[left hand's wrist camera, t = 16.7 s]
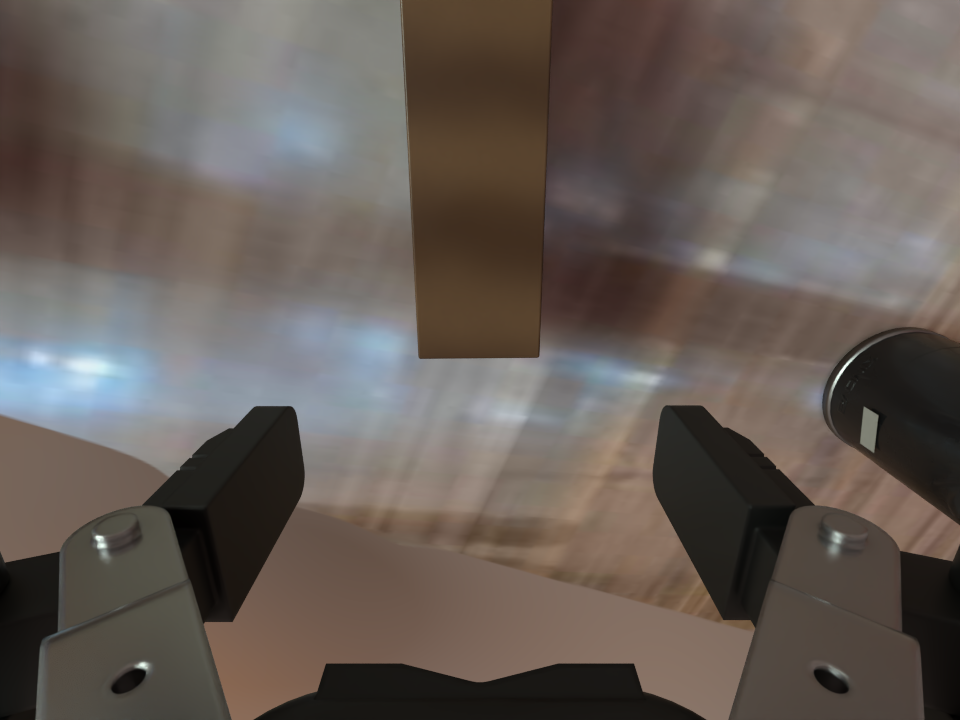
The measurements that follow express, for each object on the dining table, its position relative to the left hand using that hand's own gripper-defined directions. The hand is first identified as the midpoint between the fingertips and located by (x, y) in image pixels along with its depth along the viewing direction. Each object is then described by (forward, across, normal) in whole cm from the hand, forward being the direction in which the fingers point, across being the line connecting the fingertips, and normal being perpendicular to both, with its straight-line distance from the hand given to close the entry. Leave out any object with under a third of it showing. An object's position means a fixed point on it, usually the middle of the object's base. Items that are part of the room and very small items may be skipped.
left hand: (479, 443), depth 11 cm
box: (+23, 0, +8) cm, 25 cm away
